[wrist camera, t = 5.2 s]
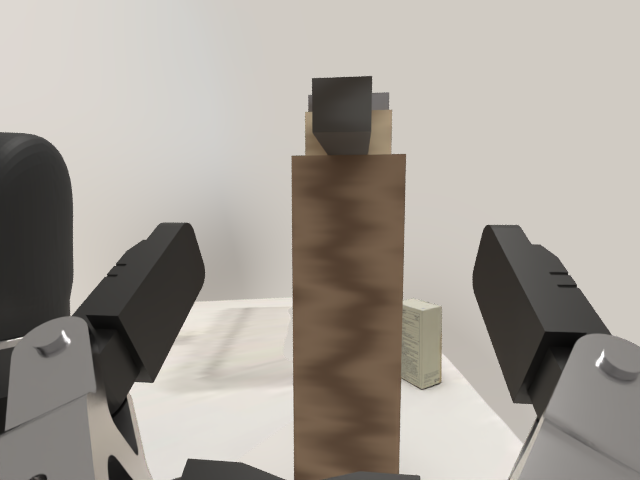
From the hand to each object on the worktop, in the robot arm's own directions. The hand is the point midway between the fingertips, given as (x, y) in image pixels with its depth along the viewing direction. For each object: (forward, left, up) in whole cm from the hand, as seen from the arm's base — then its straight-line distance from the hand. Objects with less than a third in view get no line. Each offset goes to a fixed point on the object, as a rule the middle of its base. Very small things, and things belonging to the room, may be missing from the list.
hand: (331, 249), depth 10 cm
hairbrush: (0, +16, +5) cm, 17 cm away
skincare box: (+10, +47, -27) cm, 55 cm away
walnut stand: (0, +20, -26) cm, 33 cm away
